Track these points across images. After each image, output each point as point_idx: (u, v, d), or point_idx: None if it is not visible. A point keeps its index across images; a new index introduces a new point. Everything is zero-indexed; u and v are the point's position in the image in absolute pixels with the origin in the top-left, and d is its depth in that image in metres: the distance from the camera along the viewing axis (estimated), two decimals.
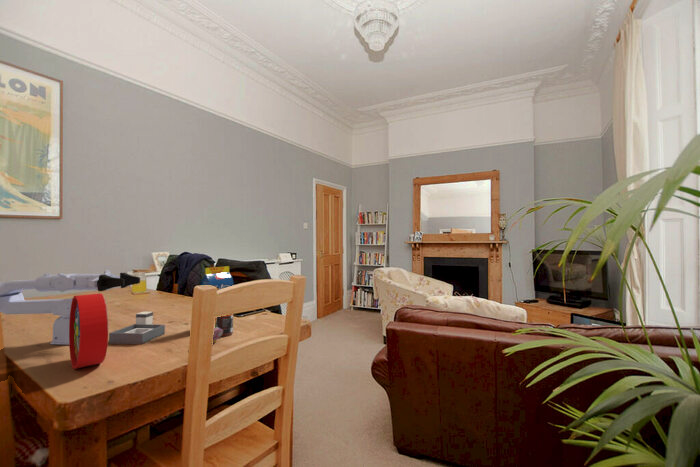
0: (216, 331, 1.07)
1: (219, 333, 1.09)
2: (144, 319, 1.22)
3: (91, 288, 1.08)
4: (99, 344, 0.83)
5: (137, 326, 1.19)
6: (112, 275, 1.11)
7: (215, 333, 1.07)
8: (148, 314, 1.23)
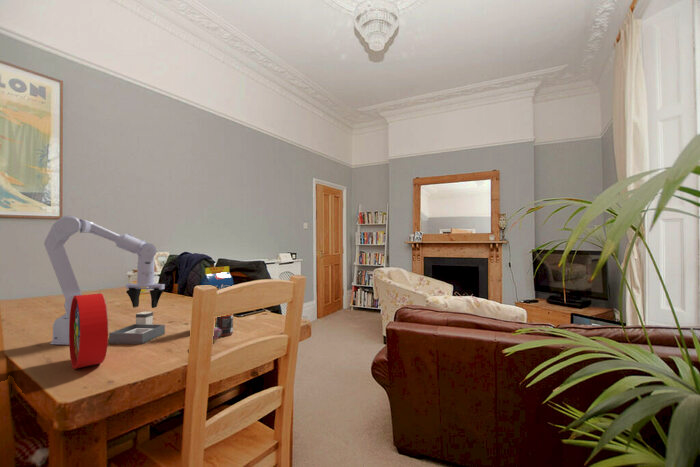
0: (215, 331, 1.07)
1: (218, 333, 1.09)
2: (144, 319, 1.22)
3: (146, 275, 1.22)
4: (99, 344, 0.83)
5: (137, 326, 1.19)
6: None
7: (214, 333, 1.07)
8: (148, 314, 1.23)
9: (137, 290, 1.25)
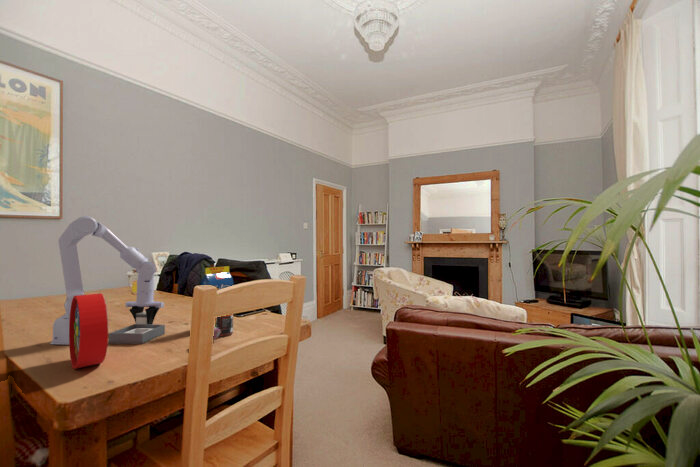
0: (214, 331, 1.07)
1: (217, 333, 1.09)
2: (144, 319, 1.22)
3: (145, 294, 1.22)
4: (99, 344, 0.83)
5: (137, 326, 1.19)
6: None
7: None
8: None
9: (140, 308, 1.24)
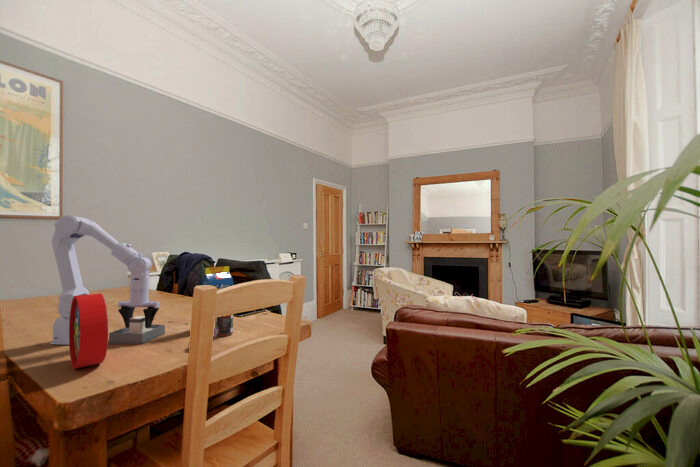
0: None
1: (215, 333, 1.09)
2: (138, 324, 1.11)
3: (140, 293, 1.12)
4: (99, 344, 0.83)
5: None
6: None
7: None
8: (143, 319, 1.13)
9: (130, 308, 1.14)
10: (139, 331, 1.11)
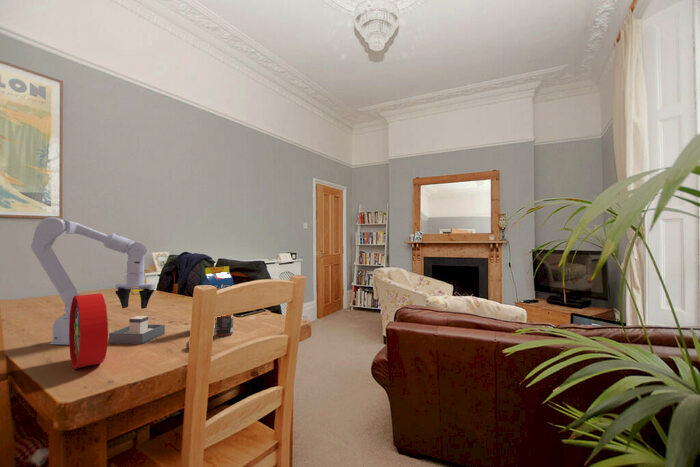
0: None
1: None
2: (138, 324, 1.11)
3: (136, 275, 1.19)
4: (99, 344, 0.83)
5: None
6: None
7: None
8: (143, 319, 1.13)
9: (126, 290, 1.22)
10: (139, 331, 1.11)
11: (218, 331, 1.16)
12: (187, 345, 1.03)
